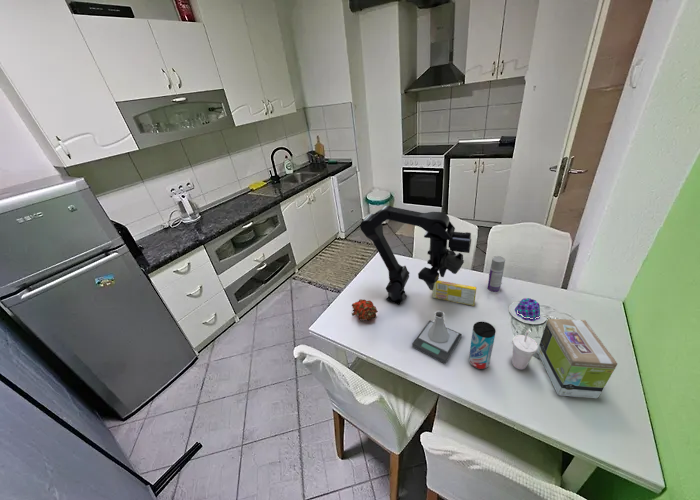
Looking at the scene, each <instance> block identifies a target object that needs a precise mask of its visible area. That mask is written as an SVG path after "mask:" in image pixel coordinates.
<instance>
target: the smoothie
mask: <svg viewBox="0 0 700 500" xmlns="http://www.w3.org/2000/svg"><path fill="white" fill-rule="evenodd" d="M529 333H530V331H529V330H526V331H525V334H517V335H514V337H513V338H512V340H511V343H512V361H511V363H512V366H513V367H515V369H518V370H525V369H526V368H527V366H528V365H529V363H530V361H531V359H532V358H533V356H534V354H536V353H538V352H537V350H538V347H539V344H538V343H537V341H536V340H535V339H534V338H532V337H531V336H529Z"/></svg>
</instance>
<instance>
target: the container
mask: <svg viewBox="0 0 700 500" xmlns="http://www.w3.org/2000/svg"><path fill="white" fill-rule="evenodd" d="M505 264H506V259H505V257H503V256H502V255H501V256H500V255H495V256H493V257H492V258H491V263H490V269H489V275H488V280H487V290H488V291H489V292H491V293H500V291H501V285H502V281H503V276H504V270H505Z"/></svg>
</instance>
